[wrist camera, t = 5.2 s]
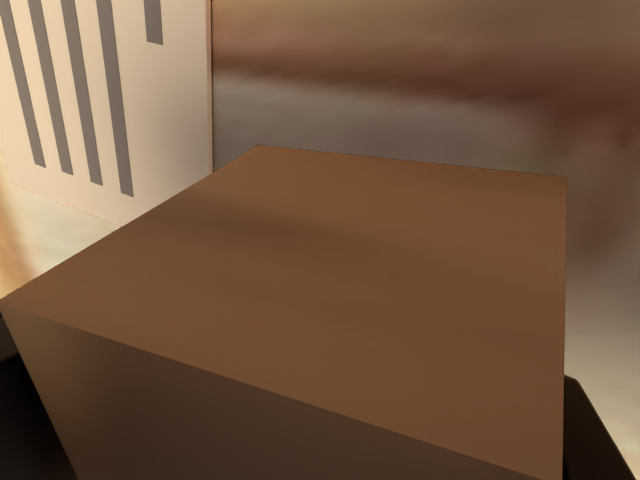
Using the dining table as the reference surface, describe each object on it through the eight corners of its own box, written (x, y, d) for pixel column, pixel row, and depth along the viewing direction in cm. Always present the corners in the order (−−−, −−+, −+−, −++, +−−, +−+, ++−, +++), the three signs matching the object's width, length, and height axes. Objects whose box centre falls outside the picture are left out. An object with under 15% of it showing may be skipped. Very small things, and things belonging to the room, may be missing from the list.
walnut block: (513, 422, 9) (469, 773, 5) (282, 355, 11) (122, 574, 7) (567, 177, 7) (563, 486, 3) (258, 145, 9) (-6, 302, 5)
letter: (213, 258, 16) (209, 261, 16) (15, 181, 18) (10, 183, 18) (207, -252, 9) (200, -256, 9) (-99, -257, 12) (-110, -261, 12)
